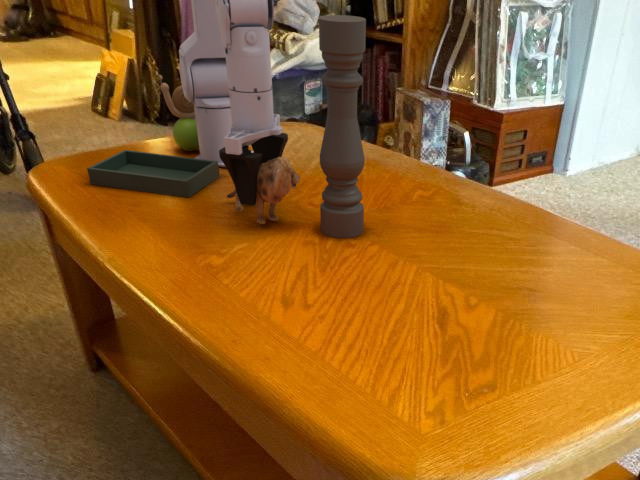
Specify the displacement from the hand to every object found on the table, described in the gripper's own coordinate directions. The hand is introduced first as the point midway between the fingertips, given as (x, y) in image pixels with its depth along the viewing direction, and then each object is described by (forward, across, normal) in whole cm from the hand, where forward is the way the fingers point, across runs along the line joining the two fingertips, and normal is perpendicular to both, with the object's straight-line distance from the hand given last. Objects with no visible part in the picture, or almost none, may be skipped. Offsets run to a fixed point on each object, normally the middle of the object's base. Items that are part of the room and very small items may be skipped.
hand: (258, 195), depth 98 cm
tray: (+3, +9, +22) cm, 24 cm away
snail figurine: (+3, +26, +25) cm, 36 cm away
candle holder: (+3, -1, -13) cm, 13 cm away
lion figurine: (+3, 0, 0) cm, 3 cm away
